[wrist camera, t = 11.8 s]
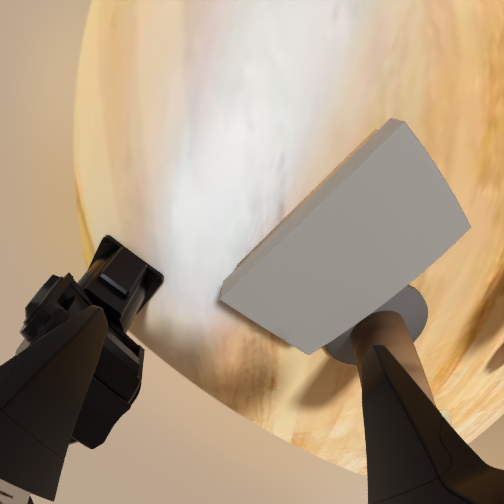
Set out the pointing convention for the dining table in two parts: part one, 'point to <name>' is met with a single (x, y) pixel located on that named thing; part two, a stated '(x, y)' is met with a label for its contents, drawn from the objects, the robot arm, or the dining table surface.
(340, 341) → the dark grey flat disc
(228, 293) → the grey slab
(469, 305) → the dining table surface
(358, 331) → the walnut roller
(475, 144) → the dining table surface
